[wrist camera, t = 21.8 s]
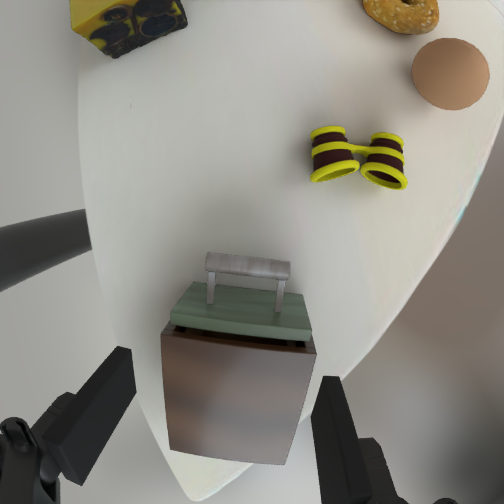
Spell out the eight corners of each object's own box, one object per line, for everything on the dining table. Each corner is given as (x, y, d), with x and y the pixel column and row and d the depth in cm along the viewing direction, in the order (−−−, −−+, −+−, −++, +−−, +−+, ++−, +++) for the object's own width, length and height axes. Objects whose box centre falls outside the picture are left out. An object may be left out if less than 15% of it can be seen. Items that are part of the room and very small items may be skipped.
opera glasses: (392, 146, 28) (412, 131, 23) (395, 193, 28) (416, 185, 23) (306, 136, 29) (313, 117, 24) (306, 185, 29) (314, 174, 24)
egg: (416, 123, 27) (472, 104, 16) (387, 62, 25) (430, 22, 15) (460, 110, 26) (518, 94, 15) (435, 54, 24) (482, 22, 14)
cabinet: (189, 292, 32) (160, 333, 23) (304, 306, 32) (317, 353, 22) (188, 398, 36) (169, 449, 26) (282, 410, 36) (284, 465, 26)
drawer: (195, 238, 30) (171, 257, 22) (309, 251, 30) (322, 275, 22) (191, 387, 34) (175, 430, 27) (282, 399, 34) (283, 444, 26)
